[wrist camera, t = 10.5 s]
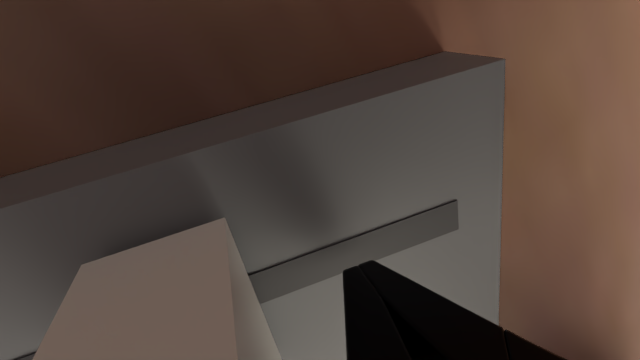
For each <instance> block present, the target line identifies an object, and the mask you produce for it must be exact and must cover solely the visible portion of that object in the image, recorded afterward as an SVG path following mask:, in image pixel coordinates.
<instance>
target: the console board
mask: <svg viewBox="0 0 640 360" xmlns="http://www.w3.org/2000/svg"><path fill="white" fill-rule="evenodd" d="M504 92H505V59H503V58H494V57H486V56H478V55H470V54H462V53H453V52H441V53H438V54H434V55H431V56H427V57H424V58H420V59H417V60H413V61H410V62H406V63H403V64H399V65H396V66H392V67H389V68H385V69H382V70H378V71H375V72H371V73H368V74H364V75H361V76H357V77H353V78H350V79H346V80H343V81H339V82H336V83H332V84H329V85H325V86H322V87H318V88H315V89H311V90H308V91H304V92H301V93H297V94H294V95H290V96H287V97H283V98H280V99H276V100H272V101H269V102H265V103H262V104H258V105H255V106H251V107H248V108H244V109H241V110H237V111H234V112H230V113H227V114H223V115H220V116H216V117H213V118H209V119H206V120H202V121H199V122H195V123H191V124H188V125H184V126H181V127H177V128H174V129H170V130H167V131H163V132H160V133H156V134H153V135H149V136H146V137H142V138H139V139H135V140H132V141H128V142H125V143H121V144H118V145H114V146H110V147H107V148H103V149H100V150H96V151H93V152H89V153H86V154H82V155H79V156H75V157H72V158H68V159H65V160H61V161H58V162H54V163H51V164H47V165H44V166H40V167H37V168H33V169H29V170H26V171H22V172H19V173H15V174H12V175H8V176H5V177H1V178H0V360H32V359H33V357H34V355H35V354H36V352H37V350H38V348H39V346H40V344H41V342H42V340H43V338H44V336H45V334H46V332H47V330H48V328H49V327H50V325H51V323H52V321H53V319H54V317H55V315H56V313H57V311H58V309H59V307H60V305H61V303H62V301H63V300H64V298H65V296H66V294H67V292H68V290H69V288H70V286H71V284H72V282H73V280H74V278H75V276H76V274H77V272H78V271H79V269H80V267H81V265H82V264H85V263H88V262H91V261H94V260H97V259H100V258H103V257H106V256H109V255H112V254H116V253H119V252H122V251H125V250H128V249H131V248H134V247H137V246H140V245H143V244H146V243H149V242H152V241H155V240H158V239H161V238H164V237H167V236H170V235H173V234H176V233H179V232H182V231H185V230H188V229H191V228H194V227H197V226H200V225H203V224H206V223H209V222H212V221H215V220H218V219H221V218H224V217H225V219H226V221H227V224H228V226H229V229H230V231H231V234H232V236H233V239H234V241H235V244H236V246H237V249H238V251H239V254H240V256H241V259H242V261H243V264H244V266H245V269H246V271H247V274H248V276H249V279H250V281H251V284H252V286H253V289H254V291H255V294H256V296H257V299H258V301H259V304H260V306H261V309H262V311H263V314H264V316H265V319H266V321H267V324H268V326H269V329H270V331H271V334H272V336H273V339H274V341H275V344H276V346H277V349H278V351H279V354H280V356H281V359H282V360H347V357H346V336H345V315H344V294H343V271H344V270H345V269H348V268H351V267H353V266H358V265H359V264H361V263H364V262H367V261H370V260H374V261H376V262H378V263H380V264H382V265H384V266H386V267H388V268H390V269H392V270H393V271H395V272H397V273H399V274H401V275H403V276H405V277H407V278H409V279H411V280H413V281H414V282H416V283H418V284H420V285H422V286H424V287H426V288H428V289H430V290H432V291H433V292H435V293H437V294H439V295H441V296H443V297H445V298H447V299H449V300H451V301H453V302H454V303H456V304H458V305H460V306H462V307H464V308H466V309H468V310H470V311H472V312H474V313H475V314H477V315H479V316H481V317H483V318H485V319H487V320H489V321H491V322H493V323H495V324H496V325H498V326H499V287H500V248H501V209H502V170H503V131H504Z"/></svg>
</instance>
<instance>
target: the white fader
mask: <svg viewBox="0 0 640 360" xmlns="http://www.w3.org/2000/svg"><path fill="white" fill-rule="evenodd" d="M32 360H282V359H281V356H280V354H279V351H278V349H277V346H276V344H275V341H274V339H273V336H272V334H271V331H270V329H269V326H268V324H267V321H266V319H265V316H264V314H263V311H262V309H261V306H260V304H259V301H258V299H257V296H256V294H255V291H254V289H253V286H252V284H251V281H250V279H249V276H248V274H247V271H246V269H245V266H244V264H243V261H242V259H241V256H240V254H239V251H238V249H237V246H236V244H235V241H234V239H233V236H232V234H231V231H230V229H229V226H228V224H227V221H226V219H225V217H224V218H221V219H218V220H215V221H212V222H209V223H206V224H203V225H200V226H197V227H194V228H191V229H188V230H185V231H182V232H179V233H176V234H173V235H170V236H167V237H164V238H161V239H158V240H155V241H152V242H149V243H146V244H143V245H140V246H137V247H134V248H131V249H128V250H125V251H122V252H119V253H116V254H112V255H109V256H106V257H103V258H100V259H97V260H94V261H91V262H88V263H85V264H82V265H81V267H80V269H79V271H78V272H77V274H76V276H75V278H74V280H73V282H72V284H71V286H70V288H69V290H68V292H67V294H66V296H65V298H64V300H63V301H62V303H61V305H60V307H59V309H58V311H57V313H56V315H55V317H54V319H53V321H52V323H51V325H50V327H49V328H48V330H47V332H46V334H45V336H44V338H43V340H42V342H41V344H40V346H39V348H38V350H37V352H36V354H35V355H34V357H33V359H32Z"/></svg>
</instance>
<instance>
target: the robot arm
mask: <svg viewBox="0 0 640 360" xmlns="http://www.w3.org/2000/svg"><path fill="white" fill-rule="evenodd" d="M343 294H344V315H345V336H346V357H347V360H567V359H565V358H562V357H560V356H558V355H556V354H554V353H552V352H550V351H548V350H546V349H543V348H541V347H539V346H537V345H535V344H533V343H531V342H529V341H527V340H525V339H523V338H522V337H520V336H518V335H516V334H514V333H512V332H510V331H508V330H505V331H504V329H503V328H502V327H500V326H498V325H496V324H495V323H493V322H491V321H489V320H487V319H485V318H483V317H481V316H479V315H477V314H475V313H474V312H472V311H470V310H468V309H466V308H464V307H462V306H460V305H458V304H456V303H454V302H453V301H451V300H449V299H447V298H445V297H443V296H441V295H439V294H437V293H435V292H433V291H432V290H430V289H428V288H426V287H424V286H422V285H420V284H418V283H416V282H414V281H413V280H411V279H409V278H407V277H405V276H403V275H401V274H399V273H397V272H395V271H393V270H392V269H390V268H388V267H386V266H384V265H382V264H380V263H378V262H376V261H374V260H370V261H367V262H364V263H361V264H359V265H358V266H353V267H351V268H348V269H345V270H344V271H343Z"/></svg>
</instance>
